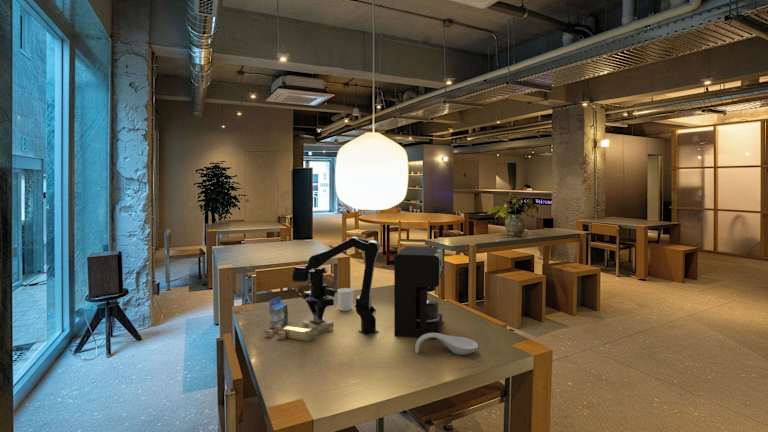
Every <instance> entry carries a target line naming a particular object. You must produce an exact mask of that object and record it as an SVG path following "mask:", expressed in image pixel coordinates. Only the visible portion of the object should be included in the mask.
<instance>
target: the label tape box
mask: <svg viewBox="0 0 768 432" xmlns="http://www.w3.org/2000/svg"><path fill="white" fill-rule="evenodd" d="M281 299H282V296H280V295H279V296H278V297H275V298H274V299H271V300H269V322H270V323H269V324H270V328H271V329H274V326H275V325H279V326H282V327H283V326H284V325H285V324H288V323H289V315H288V314H289V311H288V304H286V303H284V302H282V300H281Z"/></svg>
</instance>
